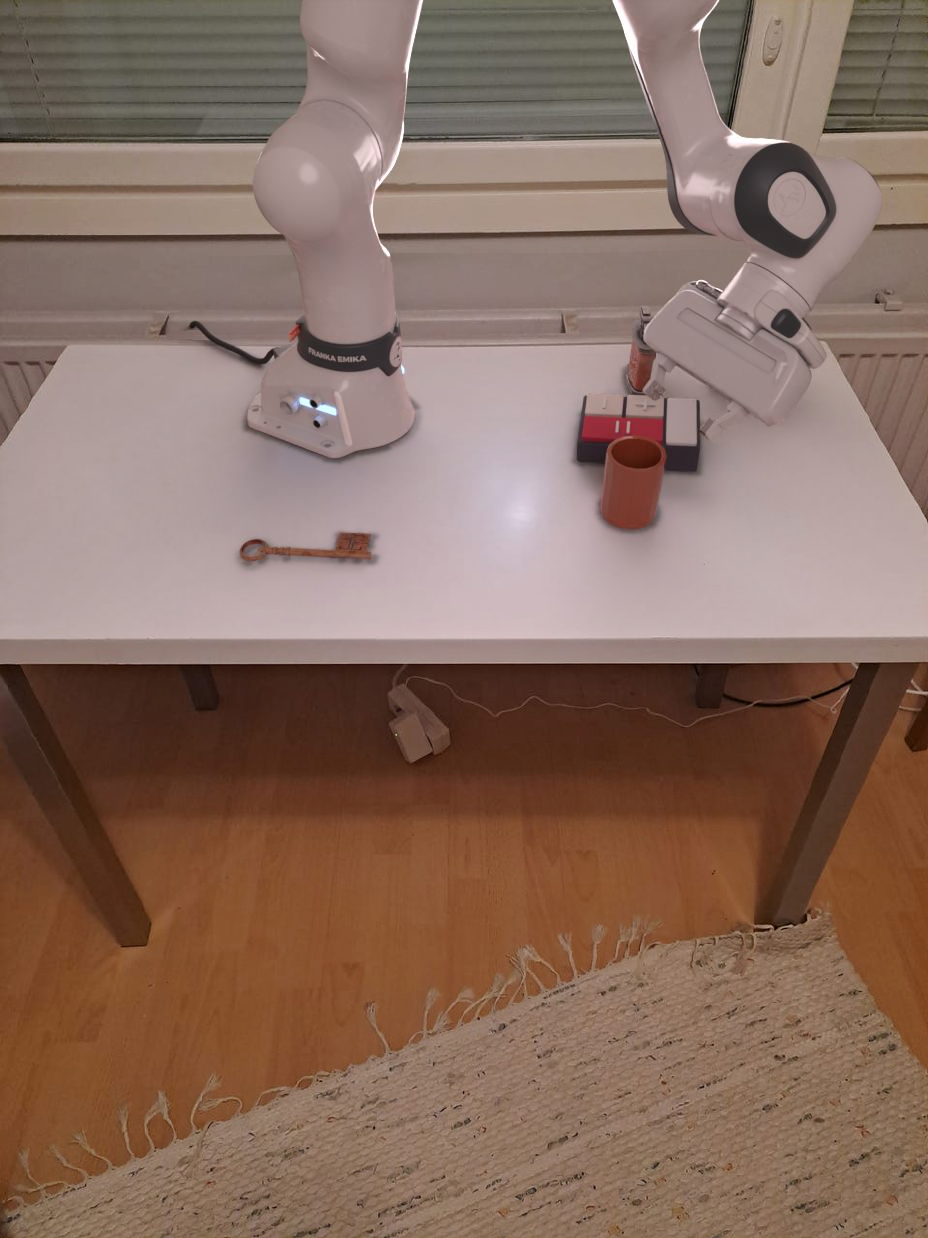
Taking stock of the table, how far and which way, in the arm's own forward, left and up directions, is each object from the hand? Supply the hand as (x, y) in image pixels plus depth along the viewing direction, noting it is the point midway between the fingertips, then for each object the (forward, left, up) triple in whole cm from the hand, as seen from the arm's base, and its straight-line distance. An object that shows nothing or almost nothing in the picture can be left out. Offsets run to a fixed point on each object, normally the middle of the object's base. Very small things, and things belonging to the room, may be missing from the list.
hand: (676, 416), depth 103 cm
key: (-36, -23, -11) cm, 44 cm away
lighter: (-8, +24, -12) cm, 28 cm away
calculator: (-5, +10, -12) cm, 16 cm away
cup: (-3, -4, -11) cm, 13 cm away
